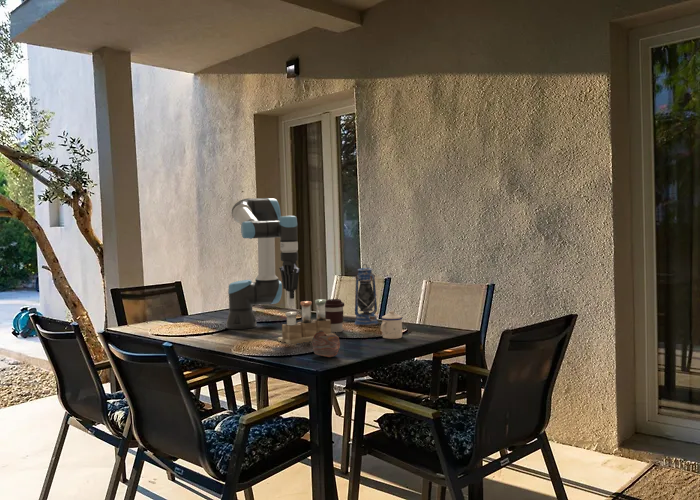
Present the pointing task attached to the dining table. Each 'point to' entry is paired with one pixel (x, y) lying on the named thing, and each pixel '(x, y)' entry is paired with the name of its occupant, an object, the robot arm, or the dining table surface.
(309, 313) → the terracotta plunger
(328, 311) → the coffee cup
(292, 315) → the cream plunger
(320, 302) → the sage plunger
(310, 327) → the beige boxy slotted piece
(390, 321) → the white enamel mug
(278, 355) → the dining table surface
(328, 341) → the stone
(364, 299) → the lantern
